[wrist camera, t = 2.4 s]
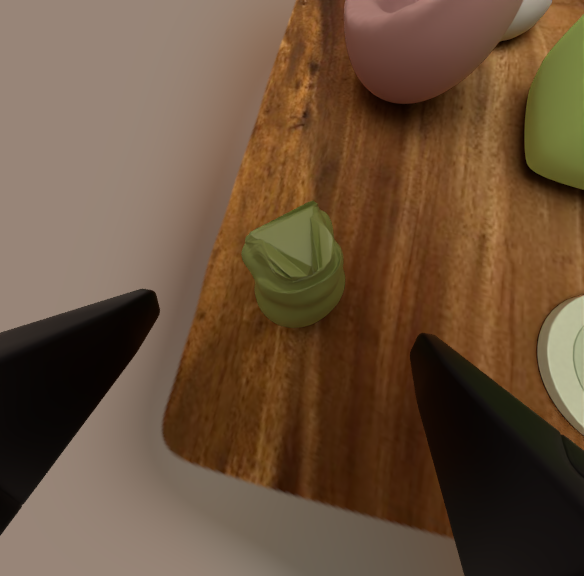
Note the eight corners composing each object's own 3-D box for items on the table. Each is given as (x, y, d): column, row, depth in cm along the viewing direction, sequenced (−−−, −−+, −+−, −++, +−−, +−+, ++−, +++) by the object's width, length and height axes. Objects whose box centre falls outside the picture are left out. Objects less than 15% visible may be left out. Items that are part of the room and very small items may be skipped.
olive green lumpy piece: (280, 343, 18) (258, 336, 8) (251, 281, 19) (201, 212, 9) (346, 309, 18) (399, 265, 9) (313, 251, 20) (328, 156, 10)
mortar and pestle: (360, 30, 26) (407, -213, 15) (473, 62, 24) (622, -182, 13) (315, 112, 23) (330, -106, 12) (437, 154, 22) (585, -54, 10)
